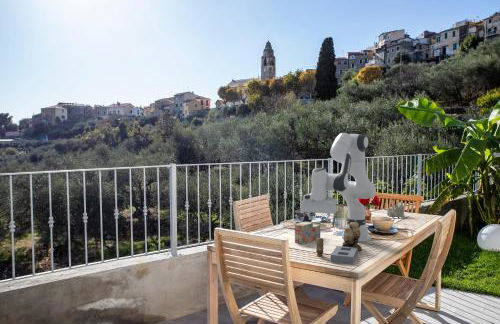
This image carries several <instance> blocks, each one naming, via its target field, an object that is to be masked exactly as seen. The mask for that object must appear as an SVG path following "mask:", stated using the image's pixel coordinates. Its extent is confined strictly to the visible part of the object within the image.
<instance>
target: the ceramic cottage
mask: <svg viewBox="0 0 500 324" xmlns="http://www.w3.org/2000/svg"><path fill="white" fill-rule="evenodd" d="M403 204H404V203H403V200H401V201H398V203H397V204H393V205H392V206H391V207H390V208H388V209H387V213H386V214H387V215H386V216H389V217H405V218H406V215H405V211H404V209H405V207H404V205H403Z"/></svg>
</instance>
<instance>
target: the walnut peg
mask: <svg viewBox="0 0 500 324" xmlns="http://www.w3.org/2000/svg"><path fill="white" fill-rule="evenodd" d="M315 243H316V244H315V246H316V247H315V249H316V251H315V253H316V256H317V257H318V258H319V257H320V258H321V257H323V253H324V238H323V237H320V238H316V240H315Z"/></svg>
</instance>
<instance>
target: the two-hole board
mask: <svg viewBox="0 0 500 324" xmlns="http://www.w3.org/2000/svg"><path fill="white" fill-rule="evenodd" d="M358 253H359V252H358V248H354V247H343V246H342V245H341V246H339V245H336V246H335V248H334V249H333V251H332V252H331V254H330V263H337V264H345V265H354V263H355V262H356V259H357V257H358Z"/></svg>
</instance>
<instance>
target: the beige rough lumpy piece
mask: <svg viewBox="0 0 500 324" xmlns="http://www.w3.org/2000/svg"><path fill="white" fill-rule="evenodd" d="M349 226H350V228H345V227H344V230H343V236H342V237H343V238H342V239H343V242H342V245H341V246H343V247H354V248H358V253H360V252H361V251H362V250H363V248H362V246H361V245H360V244H359V242H358V239H359V238H360V234H361V233H360V229H359V227H358V225H357V224H356V223H355V222H351V223H350V224H349Z"/></svg>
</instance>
